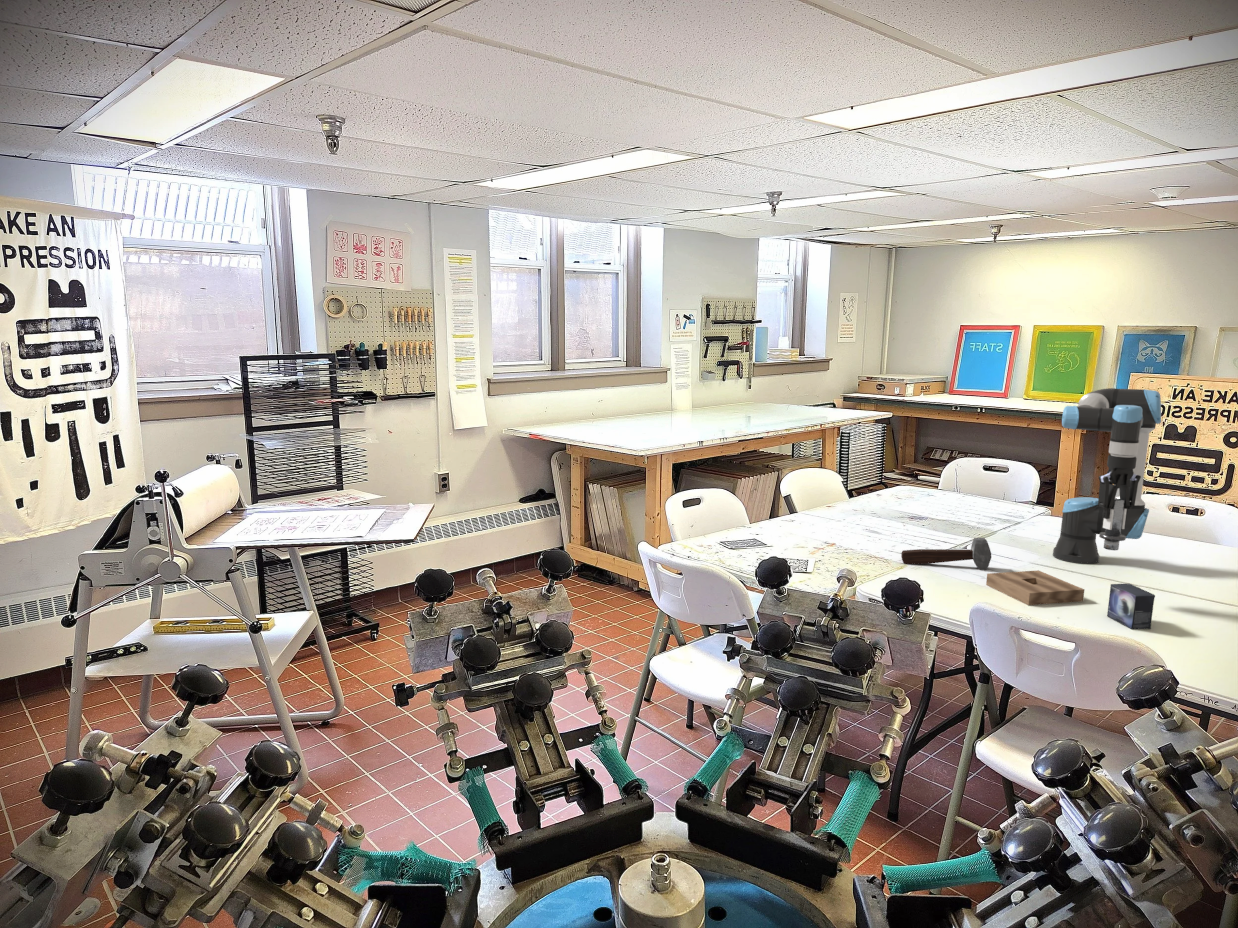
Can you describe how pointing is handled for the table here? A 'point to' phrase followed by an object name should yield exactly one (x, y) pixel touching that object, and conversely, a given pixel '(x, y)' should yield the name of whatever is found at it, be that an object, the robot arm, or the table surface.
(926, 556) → the hammer
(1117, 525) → the steel peg
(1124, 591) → the small box
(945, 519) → the table surface
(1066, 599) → the socket plate
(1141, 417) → the robot arm
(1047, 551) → the table surface
